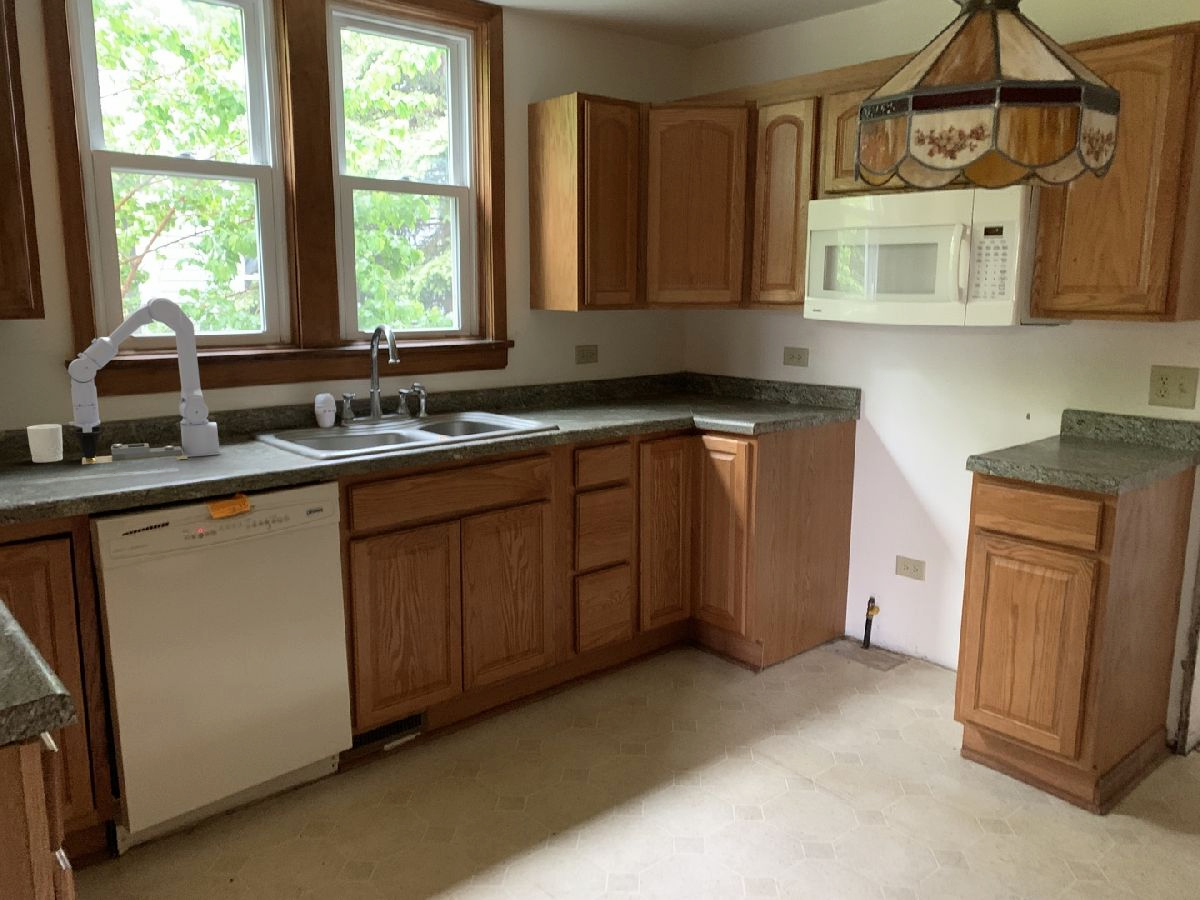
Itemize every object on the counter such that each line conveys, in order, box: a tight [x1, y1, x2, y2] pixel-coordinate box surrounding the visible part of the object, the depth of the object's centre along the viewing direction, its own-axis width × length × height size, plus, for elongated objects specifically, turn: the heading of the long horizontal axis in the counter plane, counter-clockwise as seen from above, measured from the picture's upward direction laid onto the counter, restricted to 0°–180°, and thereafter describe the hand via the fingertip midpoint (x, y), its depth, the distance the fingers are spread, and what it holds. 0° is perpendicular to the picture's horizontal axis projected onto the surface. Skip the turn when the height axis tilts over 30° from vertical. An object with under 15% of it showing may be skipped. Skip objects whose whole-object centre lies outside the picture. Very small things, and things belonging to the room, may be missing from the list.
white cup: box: [26, 423, 64, 463], centre depth 240 cm, size 8×8×10 cm
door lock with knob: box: [81, 442, 189, 465], centre depth 245 cm, size 25×10×5 cm, turn 119°
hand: (90, 455), depth 240 cm, fingers open, 7 cm apart
